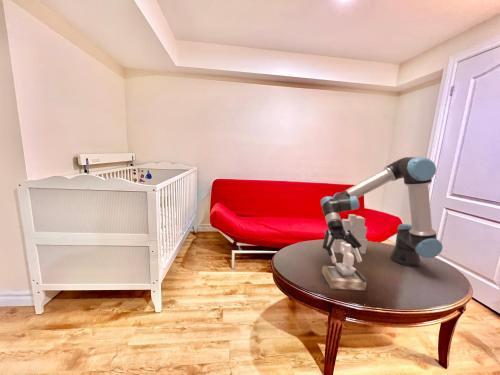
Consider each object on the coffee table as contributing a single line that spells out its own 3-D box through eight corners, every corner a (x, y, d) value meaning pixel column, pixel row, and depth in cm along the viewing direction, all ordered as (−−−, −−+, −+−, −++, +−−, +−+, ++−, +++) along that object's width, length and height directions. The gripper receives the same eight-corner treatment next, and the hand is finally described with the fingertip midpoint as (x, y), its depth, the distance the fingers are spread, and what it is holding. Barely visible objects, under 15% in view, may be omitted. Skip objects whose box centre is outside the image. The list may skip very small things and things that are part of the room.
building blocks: (333, 252, 142) (337, 215, 138) (326, 245, 154) (330, 211, 150) (365, 253, 143) (370, 217, 139) (356, 246, 154) (360, 212, 151)
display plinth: (352, 274, 116) (353, 264, 115) (365, 290, 102) (366, 279, 101) (322, 272, 116) (323, 263, 115) (331, 288, 102) (332, 277, 101)
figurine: (343, 278, 103) (347, 248, 101) (332, 268, 113) (335, 240, 110) (357, 277, 105) (360, 248, 102) (345, 267, 114) (348, 240, 112)
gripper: (351, 225, 123) (366, 263, 110) (310, 225, 119) (320, 265, 106) (358, 219, 117) (375, 258, 104) (315, 219, 113) (326, 260, 100)
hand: (347, 262), depth 105 cm, fingers open, 13 cm apart
